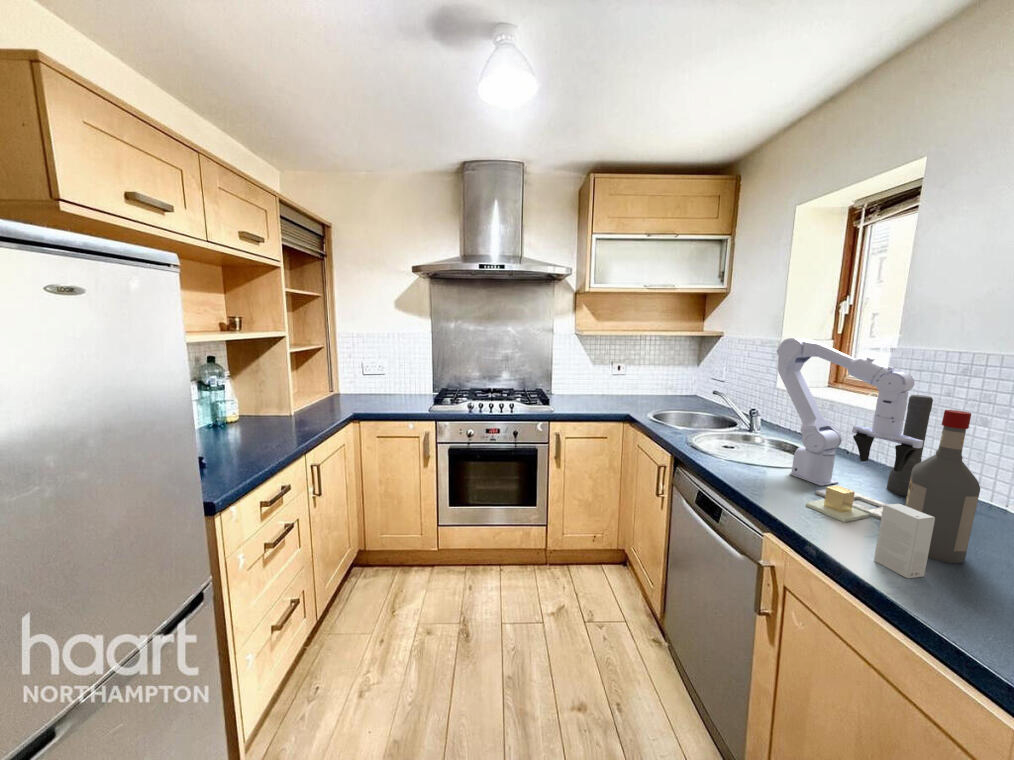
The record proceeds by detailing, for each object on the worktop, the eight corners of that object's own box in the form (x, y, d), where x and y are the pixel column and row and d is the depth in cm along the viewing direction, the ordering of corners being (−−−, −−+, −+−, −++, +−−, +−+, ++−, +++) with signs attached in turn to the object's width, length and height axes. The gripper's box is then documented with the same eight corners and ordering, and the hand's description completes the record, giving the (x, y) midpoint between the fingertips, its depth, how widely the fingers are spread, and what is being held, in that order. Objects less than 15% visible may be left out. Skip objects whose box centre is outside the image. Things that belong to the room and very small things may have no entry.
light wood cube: (823, 505, 103) (826, 487, 102) (834, 503, 105) (837, 485, 104) (841, 512, 99) (844, 493, 99) (851, 510, 101) (854, 491, 100)
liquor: (957, 549, 86) (987, 412, 81) (965, 568, 79) (998, 419, 74) (898, 533, 92) (923, 404, 87) (900, 550, 85) (927, 411, 80)
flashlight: (882, 485, 120) (892, 494, 114) (899, 392, 116) (910, 396, 109) (914, 490, 117) (925, 499, 111) (932, 395, 113) (945, 399, 106)
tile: (805, 505, 105) (806, 502, 105) (829, 501, 108) (829, 498, 108) (844, 522, 96) (844, 519, 96) (868, 517, 99) (868, 514, 99)
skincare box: (925, 577, 76) (937, 517, 74) (907, 579, 75) (919, 519, 73) (888, 558, 82) (899, 502, 80) (872, 560, 81) (882, 504, 79)
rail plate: (815, 493, 112) (815, 490, 112) (838, 489, 116) (839, 486, 116) (894, 525, 96) (895, 521, 96) (919, 519, 99) (920, 516, 99)
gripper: (848, 411, 112) (840, 458, 114) (914, 424, 99) (904, 477, 101) (864, 410, 115) (856, 455, 117) (931, 422, 101) (921, 474, 103)
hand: (880, 465), depth 109 cm, fingers open, 7 cm apart
